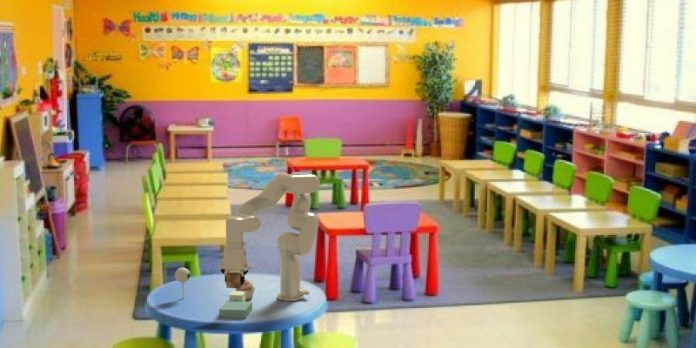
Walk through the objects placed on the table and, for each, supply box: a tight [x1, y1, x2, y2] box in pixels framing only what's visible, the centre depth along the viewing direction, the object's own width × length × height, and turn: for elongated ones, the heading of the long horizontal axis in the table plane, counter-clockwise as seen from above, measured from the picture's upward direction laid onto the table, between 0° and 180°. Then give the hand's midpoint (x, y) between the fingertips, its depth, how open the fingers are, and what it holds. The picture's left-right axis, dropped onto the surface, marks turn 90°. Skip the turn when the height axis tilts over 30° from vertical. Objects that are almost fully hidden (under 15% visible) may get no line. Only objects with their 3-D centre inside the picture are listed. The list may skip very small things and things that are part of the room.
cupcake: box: [234, 277, 256, 301], centre depth 418 cm, size 9×9×10 cm
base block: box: [218, 300, 253, 319], centre depth 397 cm, size 12×12×4 cm
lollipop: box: [174, 267, 191, 300], centre depth 417 cm, size 7×7×15 cm
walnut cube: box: [225, 270, 242, 289], centre depth 395 cm, size 6×6×6 cm
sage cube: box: [228, 290, 246, 302], centre depth 408 cm, size 6×6×6 cm
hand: (234, 283), depth 395 cm, fingers closed on walnut cube, 6 cm apart
